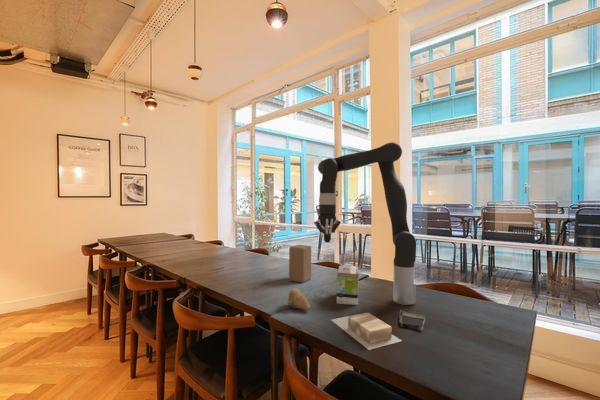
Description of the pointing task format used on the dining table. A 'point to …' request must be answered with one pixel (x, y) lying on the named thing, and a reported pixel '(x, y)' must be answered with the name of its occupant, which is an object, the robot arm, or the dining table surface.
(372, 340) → the maple slab
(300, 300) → the seashell
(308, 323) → the dining table surface
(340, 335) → the dining table surface
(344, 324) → the felt mat
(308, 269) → the wooden block
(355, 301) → the tea box
